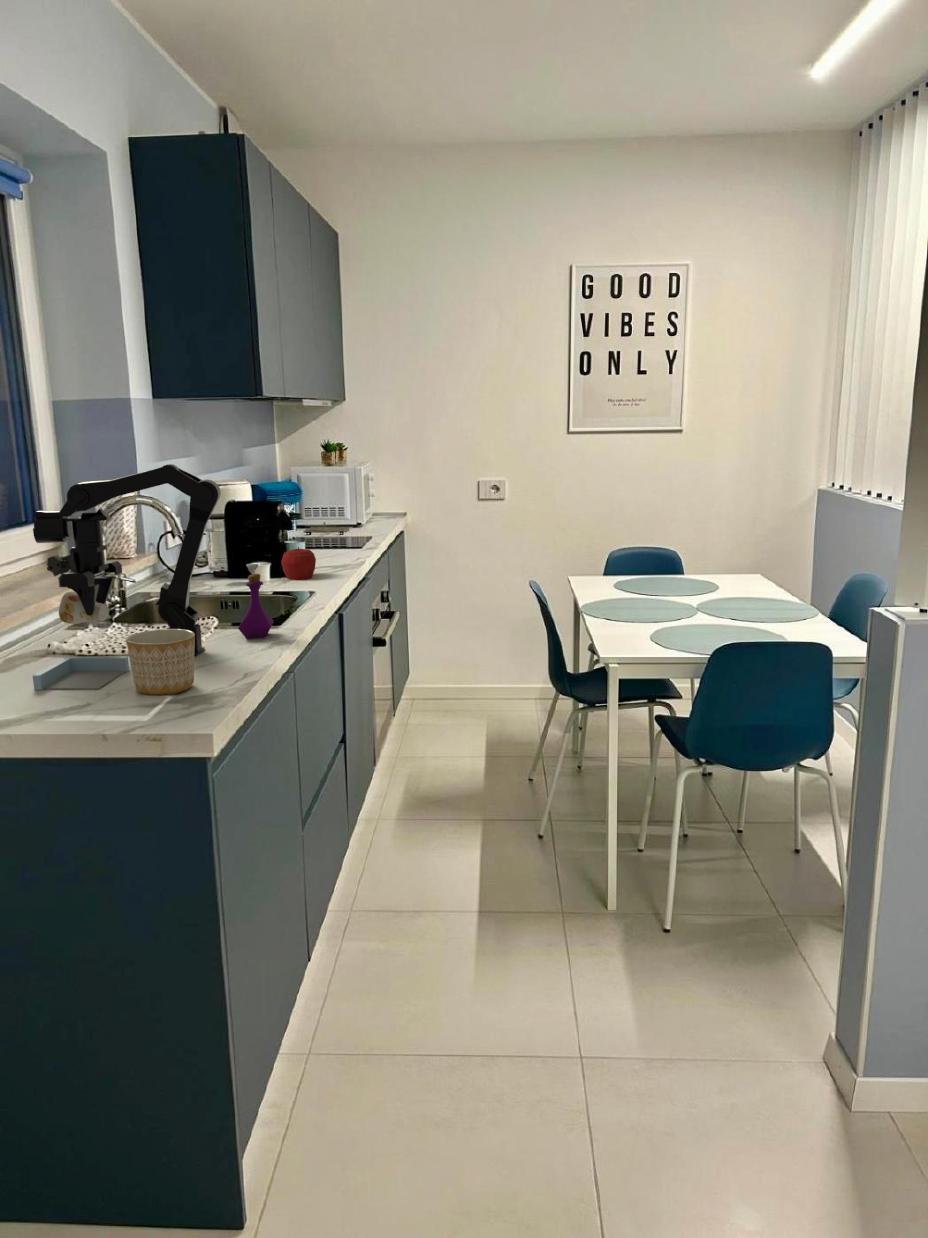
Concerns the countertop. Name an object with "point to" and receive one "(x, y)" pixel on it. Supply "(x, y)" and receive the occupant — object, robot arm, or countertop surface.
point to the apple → (298, 564)
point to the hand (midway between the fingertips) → (95, 612)
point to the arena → (77, 668)
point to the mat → (85, 680)
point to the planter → (162, 660)
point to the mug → (80, 610)
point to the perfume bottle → (255, 610)
